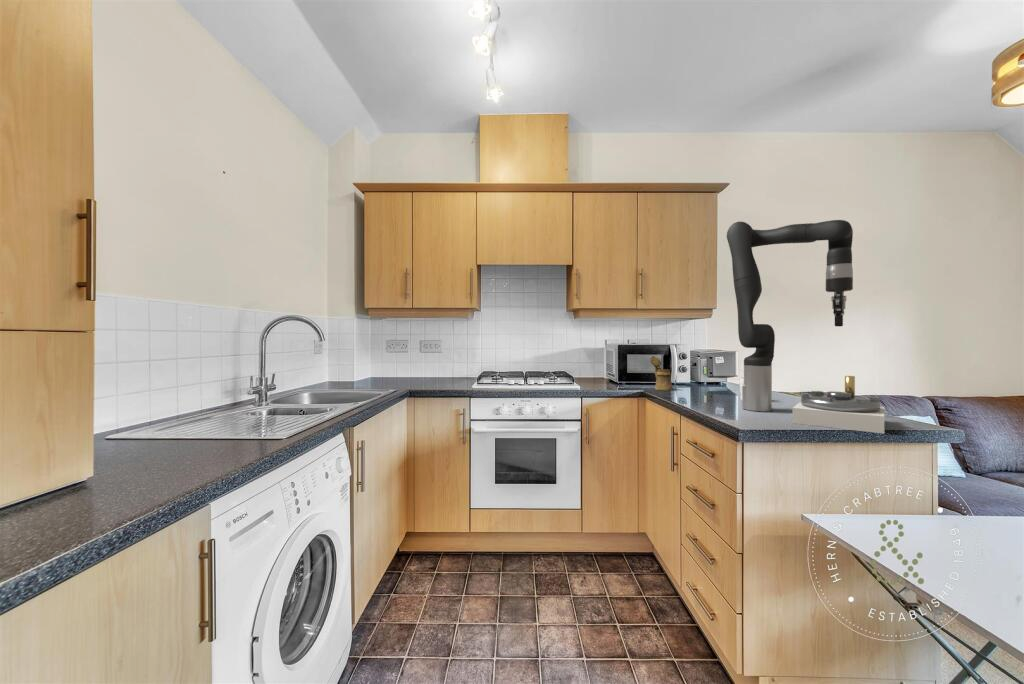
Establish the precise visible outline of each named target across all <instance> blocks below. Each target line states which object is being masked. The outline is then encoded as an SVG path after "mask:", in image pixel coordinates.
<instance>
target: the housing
mask: <svg viewBox="0 0 1024 684" xmlns="http://www.w3.org/2000/svg"><path fill="white" fill-rule="evenodd" d="M792 424H799V425H805V426H806V425H807V426H815V427H822V426H823V427H824V428H831V427H832V429H839V430H841V429H842V430H849V431H858V432H859V431H860V432H866V433H875V434H885V406H881V405H880V411H876V412H849V411H836V410H827V409H819V408H813V407H808V406H804V405H802V404H801V401H799V402H798V403H797V404H795V405H794V406H793V407H792ZM823 427H822V428H823Z"/></svg>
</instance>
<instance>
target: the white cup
mask: <svg viewBox="0 0 1024 684" xmlns="http://www.w3.org/2000/svg"><path fill="white" fill-rule="evenodd" d="M738 380H739V381H738V382H739V393H740V401H742V385H743V384H744V376H742V377H740V376H739V378H738Z"/></svg>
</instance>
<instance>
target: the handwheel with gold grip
mask: <svg viewBox="0 0 1024 684" xmlns="http://www.w3.org/2000/svg"><path fill="white" fill-rule="evenodd" d="M800 402H801V404H802V405H804V406H808V407H813V408H819V409H827V410H836V411H849V412H876V411H880V406H881V397H879V396H873V395H870V396H869V398H867V397H860V396H859V397H858V396H856V377H855V375H844V391H827V392H826V394H824V391H820V390H811V394H809V393H808V392H801V393H800Z"/></svg>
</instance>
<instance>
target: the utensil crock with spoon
mask: <svg viewBox="0 0 1024 684" xmlns="http://www.w3.org/2000/svg"><path fill="white" fill-rule="evenodd" d="M650 363H651V364H652V365H653V367H655V369H654V375H655V385H654V390H655V391H660V392H661V391H662V392H671V391H672V392H673V390H674V388H673V386H672V385H673V384H672V378H671V377H672V374H671V371H670V369H668V368H664V369H663V368H661V365H662V363H661V361H660V358H658V357H656V356H654V355H652V356H651V358H650Z"/></svg>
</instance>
